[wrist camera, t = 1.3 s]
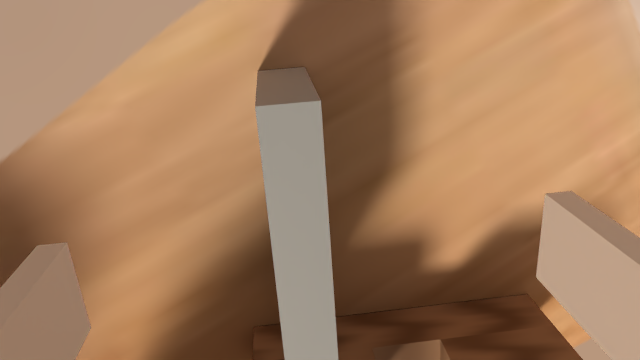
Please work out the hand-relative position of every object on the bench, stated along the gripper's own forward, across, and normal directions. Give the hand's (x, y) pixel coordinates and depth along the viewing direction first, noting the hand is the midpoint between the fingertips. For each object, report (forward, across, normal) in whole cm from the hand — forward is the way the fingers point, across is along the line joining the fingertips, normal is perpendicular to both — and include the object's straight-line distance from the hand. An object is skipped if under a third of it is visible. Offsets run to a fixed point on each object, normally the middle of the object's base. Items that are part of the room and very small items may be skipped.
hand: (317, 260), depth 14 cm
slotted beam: (+20, +7, -19) cm, 29 cm away
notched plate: (+20, 0, -6) cm, 21 cm away
